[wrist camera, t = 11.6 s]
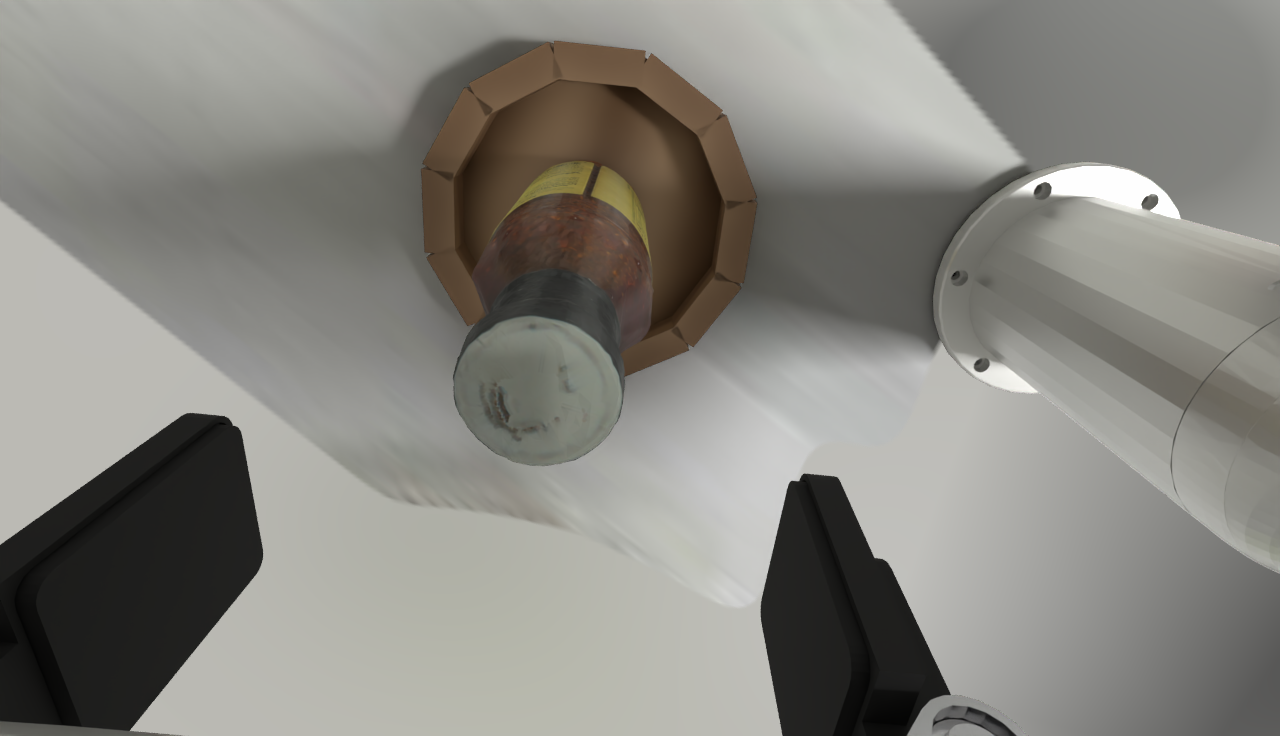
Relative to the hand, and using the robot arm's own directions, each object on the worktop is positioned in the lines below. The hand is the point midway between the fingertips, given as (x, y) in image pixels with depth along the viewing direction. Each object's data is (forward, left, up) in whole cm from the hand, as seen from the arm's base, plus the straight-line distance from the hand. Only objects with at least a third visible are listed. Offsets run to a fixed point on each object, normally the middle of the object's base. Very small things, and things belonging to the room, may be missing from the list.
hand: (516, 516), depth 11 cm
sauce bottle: (+1, 0, -24) cm, 24 cm away
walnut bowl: (+1, 0, -25) cm, 25 cm away
